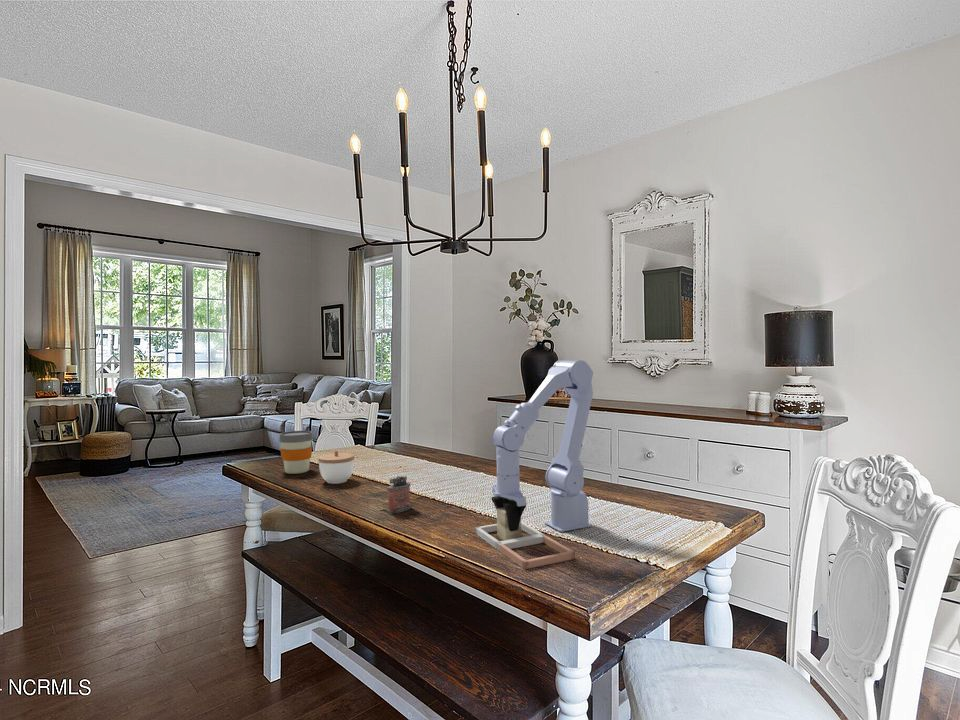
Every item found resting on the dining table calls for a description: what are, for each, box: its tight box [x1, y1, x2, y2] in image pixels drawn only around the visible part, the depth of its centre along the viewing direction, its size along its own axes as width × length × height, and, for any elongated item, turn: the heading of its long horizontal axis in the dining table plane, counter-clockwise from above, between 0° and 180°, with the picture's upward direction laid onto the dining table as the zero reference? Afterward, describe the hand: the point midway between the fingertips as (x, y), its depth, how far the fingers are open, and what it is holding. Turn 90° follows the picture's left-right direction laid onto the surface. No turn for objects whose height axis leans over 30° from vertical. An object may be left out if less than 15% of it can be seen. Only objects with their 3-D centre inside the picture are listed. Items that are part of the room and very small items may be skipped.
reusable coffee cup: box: [278, 430, 313, 475], centre depth 220 cm, size 13×13×15 cm
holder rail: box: [474, 520, 576, 570], centre depth 135 cm, size 13×26×2 cm, turn 25°
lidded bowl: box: [317, 450, 355, 485], centre depth 202 cm, size 13×13×11 cm
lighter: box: [386, 475, 412, 515], centre depth 166 cm, size 8×3×10 cm, turn 141°
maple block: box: [496, 507, 522, 541], centre depth 141 cm, size 4×4×7 cm
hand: (508, 527), depth 141 cm, fingers closed on maple block, 4 cm apart
